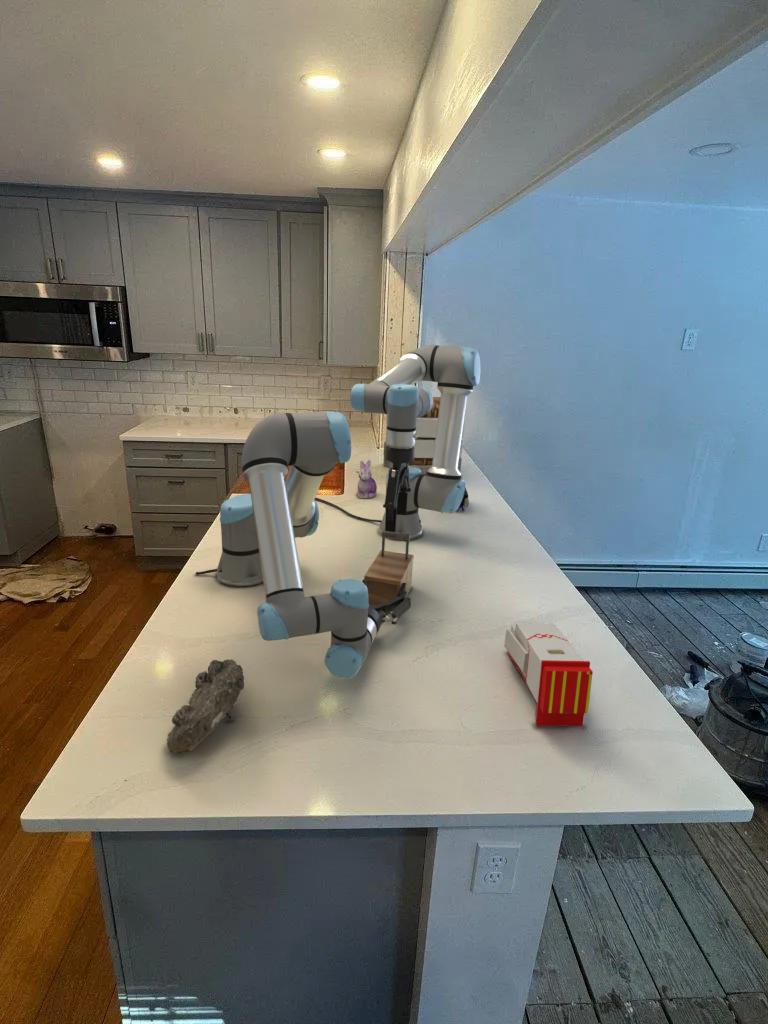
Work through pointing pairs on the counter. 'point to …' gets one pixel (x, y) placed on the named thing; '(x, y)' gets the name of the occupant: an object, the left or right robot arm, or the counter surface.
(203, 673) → the fossil
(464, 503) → the figurine character
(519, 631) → the toy
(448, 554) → the counter surface
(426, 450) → the wooden drawer cabinet
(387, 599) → the chest
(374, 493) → the figurine
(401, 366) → the right robot arm
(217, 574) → the left robot arm
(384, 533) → the lid
